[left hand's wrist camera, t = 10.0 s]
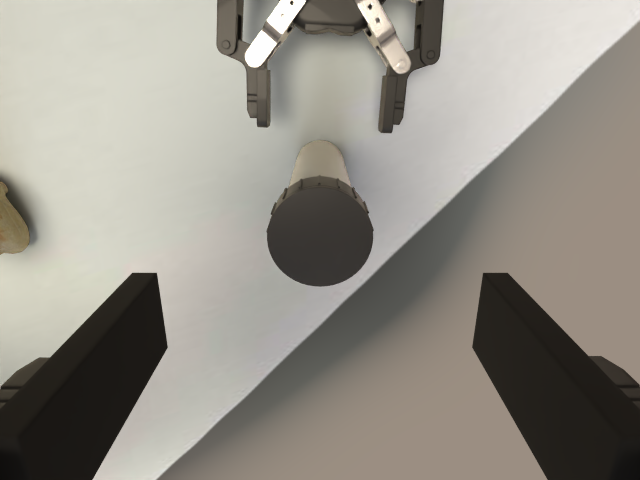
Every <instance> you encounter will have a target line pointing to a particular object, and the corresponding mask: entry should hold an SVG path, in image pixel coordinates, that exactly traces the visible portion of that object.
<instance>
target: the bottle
mask: <svg viewBox="0 0 640 480" xmlns="http://www.w3.org/2000/svg"><path fill="white" fill-rule="evenodd" d="M318 175H321V176H327V177H332V178H335V179H337V178H339V180H340V181H343V182H345V183H346V184H348V185H349V186H350V187H351V183H350V180H349V176H348V173H347V170H346V166H345V163H344V160H343V156H342V154H341V152H340V150H339V149H338V148H337V147H336V146H335V145H334V144H332V143H330V142H328V141H324V140H316V141H312V142H310V143H308V144H306V145H305V146H304V147H303V148H302V149H301V150H300V152H299V154H298V157H297V160H296V163H295V167H294V170H293V173H292V177H291V180H290V184H289V187H290V186H291V185H293V184H294V183H296V182H298V181H300V179H301V178H302V179H305V178H309V177H314V176H318ZM289 187H288V188H289Z"/></svg>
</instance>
